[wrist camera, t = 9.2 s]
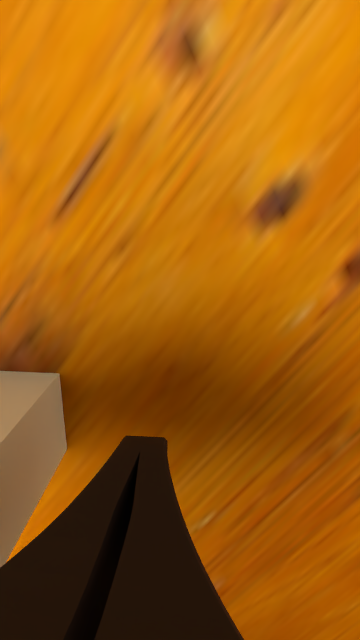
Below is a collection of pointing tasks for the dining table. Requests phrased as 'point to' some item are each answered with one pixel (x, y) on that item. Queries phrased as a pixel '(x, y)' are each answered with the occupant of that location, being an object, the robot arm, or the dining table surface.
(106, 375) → the dining table surface
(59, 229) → the dining table surface
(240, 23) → the dining table surface
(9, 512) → the beige rectangular block
